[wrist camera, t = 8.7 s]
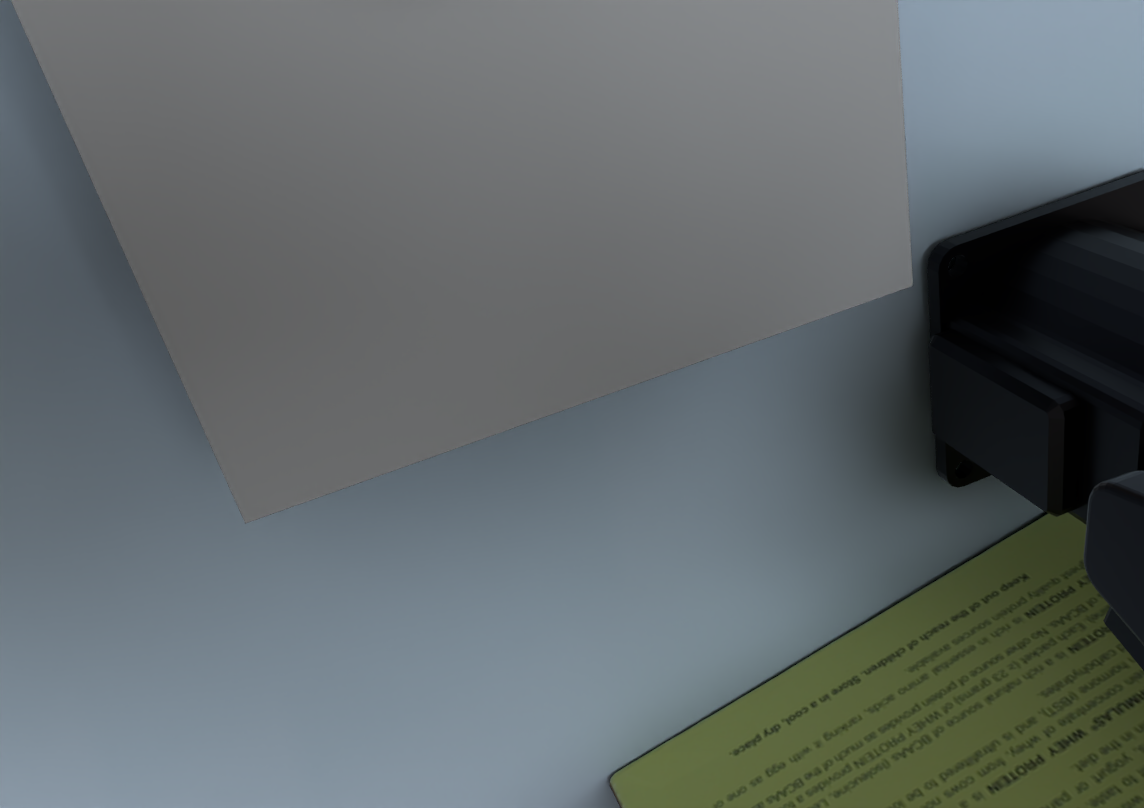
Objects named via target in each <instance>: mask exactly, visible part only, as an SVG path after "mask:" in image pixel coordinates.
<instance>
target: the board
mask: <svg viewBox="0 0 1144 808" xmlns="http://www.w3.org/2000/svg"><path fill="white" fill-rule="evenodd" d="M11 2H12V4H13V6H14V9H15V11H16V13H17V15H18V18H19V20H20V22H21V24H22V27H23V29H24V31H25V33H26V35H27V38H28V40H29V42H30V44H31V47H32V49H33V51H34V53H35V55H36V58H37V60H38V62H39V64H40V67H41V69H42V71H43V73H44V76H45V78H46V80H47V82H48V84H49V87H50V89H51V91H52V93H53V96H54V98H55V100H56V102H57V105H58V107H59V109H60V111H61V113H62V116H63V118H64V120H65V122H66V125H67V127H68V129H69V131H70V134H71V136H72V138H73V140H74V142H75V145H76V147H77V149H78V151H79V154H80V156H81V158H82V160H83V163H84V165H85V167H86V169H87V171H88V174H89V176H90V178H91V180H92V183H93V185H94V187H95V189H96V191H97V194H98V196H99V198H100V200H101V203H102V205H103V207H104V209H105V212H106V214H107V216H108V218H109V220H110V223H111V225H112V227H113V229H114V232H115V234H116V236H117V238H118V241H119V243H120V245H121V247H122V249H123V252H124V254H125V256H126V258H127V261H128V263H129V265H130V267H131V270H132V272H133V274H134V276H135V278H136V281H137V283H138V285H139V287H140V290H141V292H142V294H143V296H144V298H145V301H146V303H147V305H148V307H149V310H150V312H151V314H152V316H153V319H154V321H155V323H156V325H157V327H158V330H159V332H160V334H161V336H162V339H163V341H164V343H165V345H166V348H167V350H168V352H169V354H170V356H171V359H172V361H173V363H174V365H175V368H176V370H177V372H178V374H179V377H180V379H181V381H182V383H183V385H184V388H185V390H186V392H187V394H188V397H189V399H190V401H191V403H192V405H193V408H194V410H195V412H196V414H197V417H198V419H199V421H200V423H201V426H202V428H203V430H204V432H205V434H206V437H207V439H208V441H209V443H210V446H211V448H212V450H213V452H214V455H215V457H216V459H217V461H218V463H219V466H220V468H221V470H222V472H223V475H224V477H225V479H226V481H227V484H228V486H229V488H230V490H231V492H232V495H233V497H234V499H235V501H236V504H237V506H238V508H239V510H240V513H241V515H242V517H243V519H244V521H245V524H246V523H248V522H251V521H254V520H257V519H260V518H262V517H265V516H268V515H271V514H274V513H276V512H279V511H282V510H285V509H288V508H291V507H293V506H296V505H299V504H302V503H305V502H307V501H310V500H313V499H316V498H319V497H321V496H324V495H327V494H330V493H333V492H335V491H338V490H341V489H344V488H347V487H350V486H352V485H355V484H358V483H361V482H364V481H366V480H369V479H372V478H375V477H378V476H380V475H383V474H386V473H389V472H392V471H394V470H397V469H400V468H403V467H406V466H409V465H411V464H414V463H417V462H420V461H423V460H425V459H428V458H431V457H434V456H437V455H439V454H442V453H445V452H448V451H451V450H453V449H456V448H459V447H462V446H465V445H468V444H470V443H473V442H476V441H479V440H482V439H484V438H487V437H490V436H493V435H496V434H498V433H501V432H504V431H507V430H510V429H512V428H515V427H518V426H521V425H524V424H527V423H529V422H532V421H535V420H538V419H541V418H543V417H546V416H549V415H552V414H555V413H557V412H560V411H563V410H566V409H569V408H571V407H574V406H577V405H580V404H583V403H586V402H588V401H591V400H594V399H597V398H600V397H602V396H605V395H608V394H611V393H614V392H616V391H619V390H622V389H625V388H628V387H630V386H633V385H636V384H639V383H642V382H645V381H647V380H650V379H653V378H656V377H659V376H661V375H664V374H667V373H670V372H673V371H675V370H678V369H681V368H684V367H687V366H689V365H692V364H695V363H698V362H701V361H704V360H706V359H709V358H712V357H715V356H718V355H720V354H723V353H726V352H729V351H732V350H734V349H737V348H740V347H743V346H746V345H748V344H751V343H754V342H757V341H760V340H763V339H765V338H768V337H771V336H774V335H777V334H779V333H782V332H785V331H788V330H791V329H793V328H796V327H799V326H802V325H805V324H808V323H810V322H813V321H816V320H819V319H822V318H824V317H827V316H830V315H833V314H836V313H838V312H841V311H844V310H847V309H850V308H852V307H855V306H858V305H861V304H864V303H867V302H869V301H872V300H875V299H878V298H881V297H883V296H886V295H889V294H892V293H895V292H897V291H900V290H903V289H906V288H909V287H911V286H913V277H912V259H911V240H910V221H909V203H908V184H907V166H906V147H905V128H904V110H903V91H902V73H901V54H900V35H899V17H898V0H11Z"/></svg>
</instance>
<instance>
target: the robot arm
mask: <svg viewBox="0 0 1144 808" xmlns="http://www.w3.org/2000/svg"><path fill="white" fill-rule="evenodd" d="M955 256H956V261H955V264H954V266H953V267H952V268H951V269H950V270H948V265H949V263H950V261H951V260H952V258H954V257H955ZM927 271H928V293H929V315H930V336H931V341H930V345H929V365H930V387H931V408H932V429H933V433H934V435H935V445H936V467H937V472H938V475H939V476H940V477H941V478H942V479H943V480H945V481H946V482H947V483H949V484H950V485H951V486H954V487H962V486H966V485H968V484H971V483H973V482H976V481H978V480H981V479H983V478H986V477H988V476H990V475H993V476H995V477H996V478H997V479H999V480H1000V481H1002V482H1003V483H1005V484H1006V485H1008V486H1009V487H1010V488H1012V489H1013V490H1015V491H1016V492H1018V493H1019V494H1020V495H1022V496H1023V497H1025V498H1026V499H1028V500H1029V501H1031V502H1032V503H1033V504H1035V505H1036V506H1038V507H1039V508H1041V509H1042V510H1044V511H1045V512H1047V513H1049V514H1051V515H1053V516H1056V517H1058V516H1060V515H1063V514H1065V513H1069V514H1071V515H1072V516H1074V517H1075V518H1077V519H1078V520H1080V521H1081V522H1083V523H1084V524H1086V535H1085V546H1084V566H1085V570H1086V573H1087V575H1088V578H1089V579H1090V581H1091V583H1092V585H1093V586H1094V587H1095V589H1096V590H1097V591H1098V592H1099V594H1100V595H1101V596H1102V597H1103V598H1104V600H1105V601H1106V602H1107V603H1108V604H1109V605H1110V607H1109V610H1108V612H1107V614H1106V616H1105V618H1104V620H1103V621H1104V623H1105V625H1106V626H1107V627H1108V628H1109V629H1110V631H1111V632H1112V633H1113V634H1114V635H1115V637H1116V638H1117V639H1118V640H1119V642H1120V643H1121V644H1122V645H1123V646H1124V648H1125V649H1126V650H1127V651H1128V652H1129V654H1130V655H1131V656H1132V657H1133V659H1134V660H1135V661H1136V662H1137V663H1138V665H1139V666H1140V667H1141V668H1142V669H1143V671H1144V171H1143V172H1140V173H1137V174H1135V175H1132V176H1129V177H1126V178H1123V179H1120V180H1117V181H1114V182H1112V183H1109V184H1106V185H1103V186H1100V187H1097V188H1094V189H1092V190H1089V191H1086V192H1083V193H1080V194H1077V195H1074V196H1071V197H1069V198H1066V199H1063V200H1060V201H1057V202H1054V203H1051V204H1048V205H1046V206H1043V207H1040V208H1037V209H1034V210H1031V211H1028V212H1026V213H1023V214H1020V215H1017V216H1014V217H1011V218H1008V219H1005V220H1003V221H1000V222H997V223H994V224H991V225H988V226H985V227H983V228H980V229H977V230H974V231H971V232H968V233H965V234H962V235H960V236H957V237H954V238H951V239H948V240H945V241H944V242H942V243H940V244H938V245H937V247H936V248H935V249H934V250H933V251H932V253H931V255H930V257H929V259H928V266H927ZM961 462H962V463H961ZM960 463H961V465H960V466H959V468H957V466H958V465H959V464H960ZM956 468H957V469H956Z"/></svg>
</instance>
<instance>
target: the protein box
mask: <svg viewBox="0 0 1144 808" xmlns="http://www.w3.org/2000/svg"><path fill="white" fill-rule="evenodd" d="M1085 535H1086V524H1084V523H1083V522H1081V521H1080V520H1078V519H1077V518H1075V517H1074V516H1072V515H1071V514H1069V513H1065V514H1063V515H1060V516H1058V517H1056V516H1053V515H1051V514H1049V513H1048V514H1047V515H1045V516H1043V517H1042V518H1040V519H1038V520H1037V521H1035V522H1033V523H1032V524H1030V525H1029V526H1027V527H1025V528H1023V529H1022V530H1020V531H1018V532H1017V533H1015V534H1013V535H1012V536H1010V537H1008V538H1007V539H1005V540H1003V541H1001V542H1000V543H998V544H996V545H995V546H993V547H991V548H990V549H988V550H987V551H985V552H983V553H982V554H980V555H979V556H977V557H975V558H973V559H971V560H970V561H968V562H966V563H965V564H963V565H961V566H960V567H958V568H956V569H955V570H953V571H951V572H950V573H948V574H946V575H945V576H943V577H941V578H940V579H938V580H936V581H935V582H933V583H931V584H930V585H928V586H926V587H925V588H923V589H921V590H920V591H918V592H916V593H915V594H913V595H911V596H910V597H908V598H906V599H905V600H903V601H901V602H900V603H898V604H897V605H895V606H893V607H892V608H890V609H888V610H887V611H885V612H883V613H882V614H880V615H878V616H877V617H875V618H873V619H872V620H870V621H868V622H867V623H865V624H863V625H861V626H860V627H858V628H856V629H854V630H853V631H851V632H849V633H848V634H846V635H844V636H843V637H841V638H839V639H838V640H836V641H834V642H833V643H831V644H829V645H828V646H826V647H824V648H822V649H821V650H819V651H817V652H816V653H814V654H812V655H811V656H809V657H808V658H806V659H804V660H803V661H801V662H799V663H798V664H796V665H795V666H793V667H791V668H790V669H788V670H787V671H785V672H783V673H782V674H780V675H778V676H777V677H775V678H773V679H772V680H770V681H768V682H767V683H765V684H763V685H762V686H760V687H758V688H757V689H755V690H753V691H752V692H750V693H748V694H746V695H745V696H743V697H741V698H740V699H738V700H736V701H735V702H733V703H731V704H730V705H728V706H726V707H725V708H723V709H721V710H720V711H718V712H716V713H715V714H713V715H711V716H710V717H708V718H706V719H704V720H702V721H701V722H699V723H698V724H696V725H694V726H693V727H691V728H690V729H688V730H686V731H684V732H683V733H681V734H679V735H678V736H676V737H674V738H672V739H671V740H669V741H667V742H666V743H664V744H662V745H661V746H659V747H658V748H656V749H654V750H653V751H651V752H649V753H648V754H646V755H644V756H643V757H641V758H639V759H638V760H636V761H634V762H633V763H631V764H629V765H628V766H626V767H624V768H623V769H621V770H619V771H618V772H616V773H615V774H614V775H613V776H612V777H611V779H610V787H611V789H612V791H613V793H614V795H615V797H616V799H617V801H618V803H619V805H620V807H621V808H1144V671H1143V669H1142V668H1141V667H1140V666H1139V665H1138V663H1137V662H1136V661H1135V660H1134V659H1133V657H1132V656H1131V655H1130V654H1129V652H1128V651H1127V650H1126V649H1125V648H1124V646H1123V645H1122V644H1121V643H1120V642H1119V640H1118V639H1117V638H1116V637H1115V635H1114V634H1113V633H1112V632H1111V631H1110V629H1109V628H1108V627H1107V626H1106V625H1105V623H1104V621H1103V620H1104V618H1105V616H1106V614H1107V612H1108V610H1109V607H1110V605H1109V604H1108V603H1107V602H1106V601H1105V600H1104V598H1103V597H1102V596H1101V595H1100V594H1099V592H1098V591H1097V590H1096V589H1095V587H1094V586H1093V585H1092V583H1091V581H1090V579H1089V578H1088V575H1087V573H1086V570H1085V566H1084V546H1085Z"/></svg>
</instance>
